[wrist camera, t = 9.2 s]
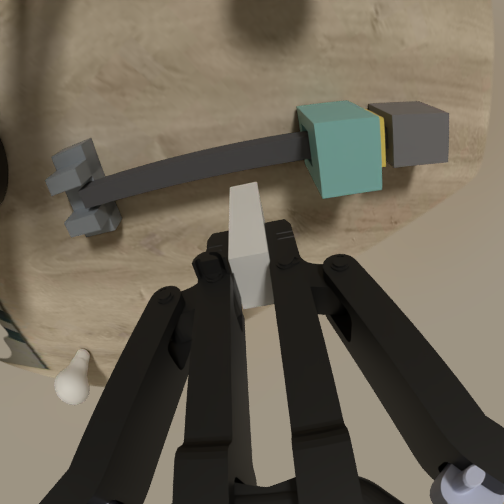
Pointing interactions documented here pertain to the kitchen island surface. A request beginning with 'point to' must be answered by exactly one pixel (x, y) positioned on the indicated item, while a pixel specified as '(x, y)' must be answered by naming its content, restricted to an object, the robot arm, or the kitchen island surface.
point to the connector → (414, 133)
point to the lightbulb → (74, 380)
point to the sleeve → (342, 147)
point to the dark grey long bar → (206, 165)
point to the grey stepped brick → (72, 180)
